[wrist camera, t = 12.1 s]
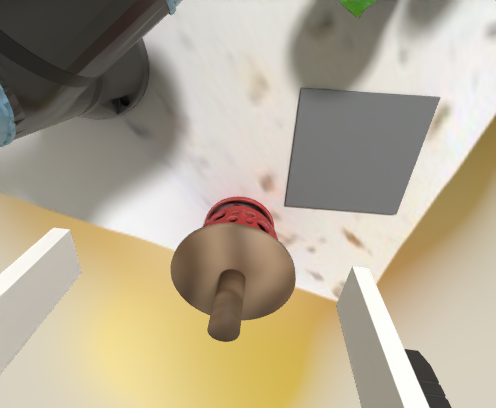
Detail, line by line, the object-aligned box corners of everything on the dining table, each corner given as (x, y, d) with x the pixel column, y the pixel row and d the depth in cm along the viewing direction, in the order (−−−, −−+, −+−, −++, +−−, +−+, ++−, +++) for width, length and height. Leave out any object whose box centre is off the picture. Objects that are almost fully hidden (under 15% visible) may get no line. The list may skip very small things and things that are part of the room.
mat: (285, 204, 46) (285, 205, 46) (301, 88, 37) (301, 88, 37) (395, 213, 46) (396, 214, 45) (438, 97, 37) (440, 97, 36)
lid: (177, 308, 43) (156, 366, 36) (167, 217, 35) (137, 266, 27) (286, 320, 43) (289, 381, 35) (304, 229, 34) (313, 284, 26)
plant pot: (199, 241, 52) (180, 291, 41) (214, 180, 45) (197, 221, 35) (266, 260, 53) (264, 313, 42) (290, 202, 46) (296, 248, 36)
